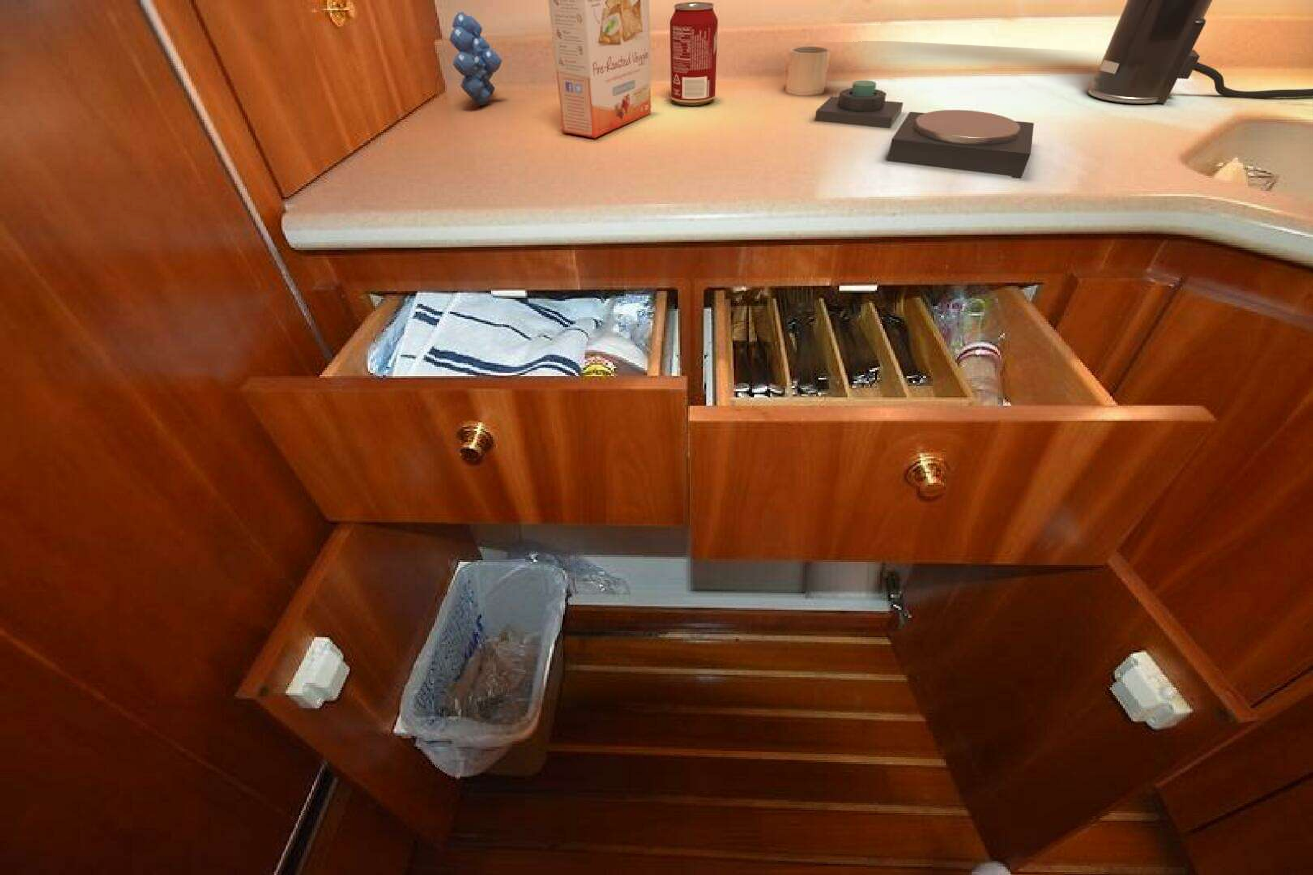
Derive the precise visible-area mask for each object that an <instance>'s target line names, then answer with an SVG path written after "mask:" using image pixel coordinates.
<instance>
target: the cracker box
mask: <svg viewBox="0 0 1313 875" xmlns="http://www.w3.org/2000/svg"><path fill="white" fill-rule="evenodd" d="M548 8H549V17H550V26H551V35H552V45H553V54H554V63H555V71H556V73H555V74H556V81H557V89H558V96H559V97H558V99H559V107H560V108H559V109H560V116H561V122H562V123H561V125H562V132H563V133H565V134H572V135H577V136H583V137H586V138H587V137H588V138H592V139H593V138H594V139H596V138H598V137H601V136H602V135H605V134H607V133H610V132H612V131H614V130H616V129H619V128H621V127H622V126H625V125H627V124H629V123H632V122H634V121H637V120H639V119H641V118H644V117H646V116H648V115H650V114H651V112H652V104H651V102H652V100H651V99H652V98H651V97H652V96H651V94H652V93H651V39H650V38H651V36H650V35H651V33H650V0H548Z"/></svg>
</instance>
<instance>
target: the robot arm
mask: <svg viewBox="0 0 1313 875" xmlns="http://www.w3.org/2000/svg"><path fill="white" fill-rule="evenodd" d="M1212 2H1213V0H1126V2H1125V5H1124V7H1123V10H1122V11H1121V15H1120V17H1119V20H1118V22H1117V24H1116V26H1115V29H1114V31H1113V34H1112V36H1111V39H1110V40H1109V43H1108V45H1107V48H1106V51H1105V53H1104V55H1103V58H1102V60H1101V62H1100V65H1099V67H1098V70H1097V72H1096V74H1095V76H1094V78H1093V82H1092V84H1091V85H1090V87H1089V89H1088V91H1087V93H1088V94H1089V95H1090V96H1092V97H1094V98H1097V99H1100V100H1105V101H1109V102H1116V103H1124V104H1158V103H1159V104H1166V103H1167V101H1168V99H1169V96H1170V94H1172V93H1171V92H1172V91H1173V88H1174V87H1175V84H1176V83H1177V81H1178V80H1179V79H1181V80H1188V79H1189V78H1190V76H1191V75H1192V73H1193V71H1194V72H1197V73H1199V74H1202V75H1204V76H1207V77H1208V78H1210V79H1211V80H1213V82H1214V90H1215V91H1216V93H1217V94H1218V95H1220V96H1222V97H1226V98H1234V99H1235V98H1237V99H1258V100H1259V99H1271V98H1272V99H1273V98H1309V97H1313V88H1302V89H1301V88H1300V89H1299V88H1298V89H1297V88H1296V89H1293V88H1292V89H1269V90H1267V89H1266V90H1255V91H1254V90H1249V91H1247V90H1246V91H1245V90H1236V89H1232V88H1229V87H1227V86H1226V85H1225V81H1224V80H1225V79H1224V76H1223V75H1222V74H1221V72H1219V71H1218V70H1217V69H1215V68H1213V67H1211V66H1209V65H1206V64H1203V63H1202V62H1199V59H1200V55H1199V53H1198V52H1197V51H1196V50H1195V49H1194V47H1195V45H1196V44H1197V41H1198V39H1199V37H1200V35H1201V33H1202V31H1203V29H1204V27H1205V25H1206V23H1207V20H1206V18H1205V16H1206V14H1207V12H1208V11H1209V9H1210V6H1211V4H1212Z"/></svg>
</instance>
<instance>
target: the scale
mask: <svg viewBox="0 0 1313 875" xmlns="http://www.w3.org/2000/svg"><path fill="white" fill-rule="evenodd" d="M1034 125H1035V122H1030V121H1029V122H1028V121H1019V120H1014V119H1012V118H1009V117H1006V116H1003V115H999V114H996V113H991V112H984V111H979V110H968V109H967V110H966V109H944V110H943V109H942V110H934V111H930V112H929V111H928V112H919V111H909V112H908V114H907V115H906V117H905V119H904V120H903V122H902V123H901V125H900V126H899V128H898V129H897V131H896V132H895V134H894V135H893V137H892V138H891V141H890V146H889V151H888V155H887V161H886V162H890V163H891V162H892V163H898V164H905V165H906V164H907V165H916V166H923V167H932V168H940V169H949V170H955V171H956V170H957V171H965V172H973V173H974V172H975V173H982V174H990V175H997V176H1006V177H1007V176H1008V177H1011V178H1016V179H1017V178H1018V179H1019V178H1020V179H1021V178H1022V177H1023V175H1024V172H1025V170H1026V167H1027V164H1028V163H1029V160H1030V156H1031V154H1032V144H1033V137H1034V136H1033V135H1034V127H1035V126H1034Z"/></svg>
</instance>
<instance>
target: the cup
mask: <svg viewBox="0 0 1313 875" xmlns="http://www.w3.org/2000/svg"><path fill="white" fill-rule="evenodd" d="M788 54H789V55H788V62H787V64H788V65H787V73H786V82H785V92H787V93H788V94H791V95H797V96H814V95H819V94H822V93H824V92H825V87H826V81H827V75H828V68H829V63H830V55H831V49H830V48H827V47H823V46H815V45H804V46H795V47H791V48H790V49H789V53H788Z"/></svg>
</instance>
